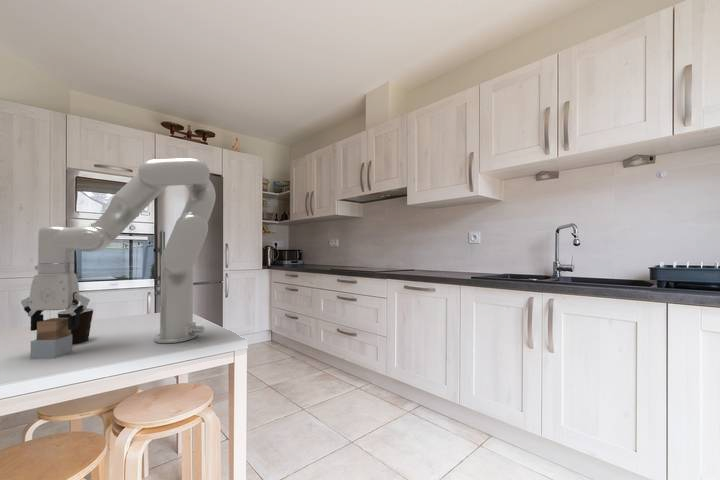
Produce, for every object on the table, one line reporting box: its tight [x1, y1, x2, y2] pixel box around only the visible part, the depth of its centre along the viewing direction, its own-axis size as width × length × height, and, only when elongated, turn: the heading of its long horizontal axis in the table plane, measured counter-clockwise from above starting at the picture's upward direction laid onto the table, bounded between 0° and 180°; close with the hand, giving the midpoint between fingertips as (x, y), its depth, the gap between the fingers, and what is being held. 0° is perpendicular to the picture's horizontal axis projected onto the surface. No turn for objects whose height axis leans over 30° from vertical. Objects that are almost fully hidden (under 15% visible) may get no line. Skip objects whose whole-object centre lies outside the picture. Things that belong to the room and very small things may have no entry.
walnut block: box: [36, 317, 71, 340], centre depth 89 cm, size 5×5×5 cm
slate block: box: [29, 334, 73, 360], centre depth 89 cm, size 6×6×5 cm
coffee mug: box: [57, 307, 94, 346], centre depth 102 cm, size 12×9×10 cm
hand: (55, 329), depth 89 cm, fingers open, 9 cm apart
